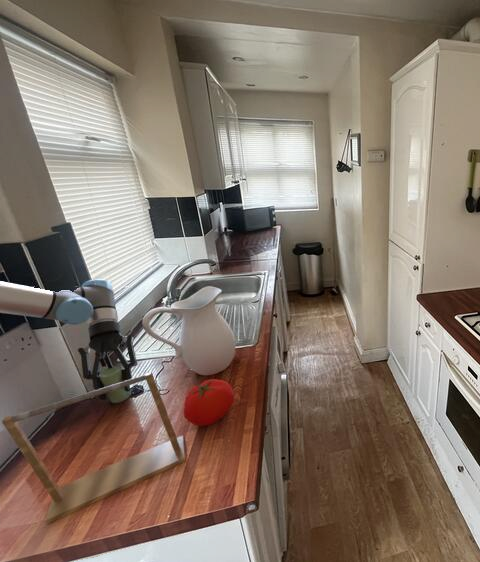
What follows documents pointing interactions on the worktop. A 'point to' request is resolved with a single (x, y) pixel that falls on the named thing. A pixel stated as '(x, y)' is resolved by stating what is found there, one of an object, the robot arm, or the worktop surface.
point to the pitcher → (199, 332)
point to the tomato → (208, 402)
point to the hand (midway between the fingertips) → (115, 394)
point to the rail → (109, 477)
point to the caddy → (112, 379)
